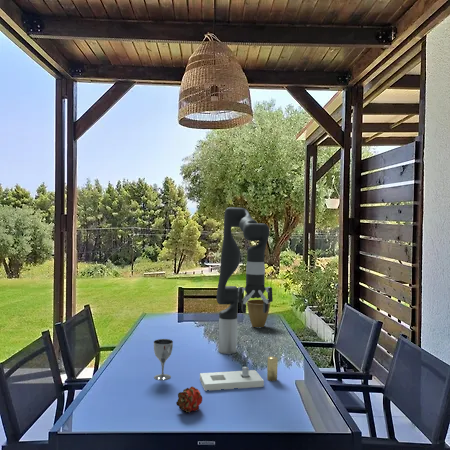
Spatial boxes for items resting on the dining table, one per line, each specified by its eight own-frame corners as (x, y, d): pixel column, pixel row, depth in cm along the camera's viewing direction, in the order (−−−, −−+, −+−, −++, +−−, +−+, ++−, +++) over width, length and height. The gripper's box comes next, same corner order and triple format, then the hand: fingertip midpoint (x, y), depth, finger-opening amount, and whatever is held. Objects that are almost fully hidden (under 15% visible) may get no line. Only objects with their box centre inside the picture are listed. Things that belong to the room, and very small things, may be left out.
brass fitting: (265, 377, 174) (266, 356, 174) (275, 377, 175) (275, 356, 175) (269, 381, 170) (269, 359, 170) (278, 380, 171) (279, 359, 171)
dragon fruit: (182, 423, 136) (190, 412, 148) (203, 409, 136) (210, 399, 148) (168, 400, 138) (178, 391, 150) (189, 386, 138) (197, 378, 149)
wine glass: (153, 381, 168) (154, 344, 168) (152, 374, 175) (152, 339, 175) (173, 379, 170) (174, 343, 170) (170, 373, 177) (171, 338, 177)
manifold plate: (199, 379, 171) (199, 373, 171) (255, 375, 176) (255, 370, 176) (204, 390, 159) (204, 384, 159) (263, 386, 165) (263, 380, 165)
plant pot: (242, 325, 266) (242, 300, 266) (262, 323, 272) (262, 299, 272) (253, 330, 252) (254, 304, 252) (274, 328, 259) (274, 303, 259)
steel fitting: (241, 381, 170) (241, 366, 170) (247, 380, 171) (247, 366, 171) (243, 383, 168) (243, 368, 168) (249, 383, 168) (249, 368, 168)
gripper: (269, 271, 171) (268, 310, 171) (236, 271, 168) (235, 311, 168) (275, 273, 164) (274, 314, 164) (240, 274, 160) (239, 315, 160)
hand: (254, 312), depth 166 cm, fingers open, 8 cm apart
